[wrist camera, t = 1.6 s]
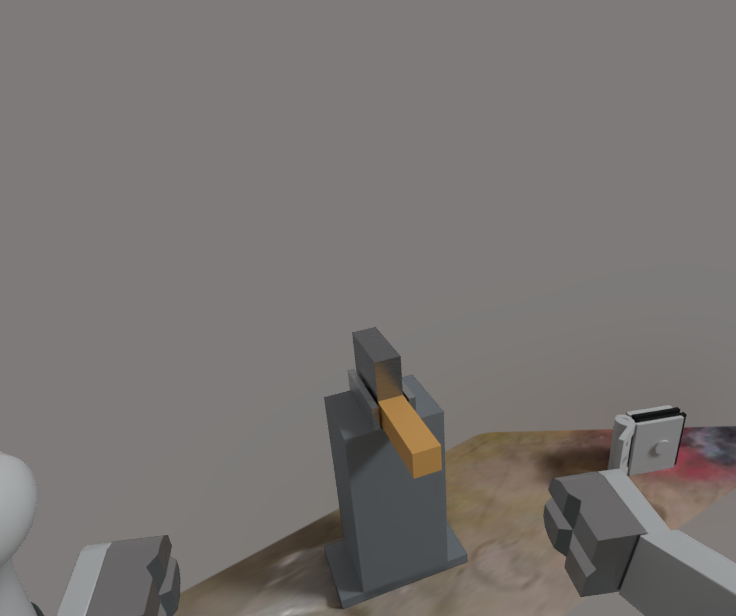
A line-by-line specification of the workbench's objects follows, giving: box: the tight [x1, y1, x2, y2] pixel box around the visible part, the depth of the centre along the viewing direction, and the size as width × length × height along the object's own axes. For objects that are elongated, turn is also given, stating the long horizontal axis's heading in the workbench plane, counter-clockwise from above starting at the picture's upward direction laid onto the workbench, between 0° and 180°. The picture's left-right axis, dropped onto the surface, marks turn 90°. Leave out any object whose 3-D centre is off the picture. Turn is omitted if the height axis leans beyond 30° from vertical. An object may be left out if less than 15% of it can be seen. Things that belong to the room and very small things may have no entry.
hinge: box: [608, 405, 686, 476], centre depth 81 cm, size 14×5×10 cm, turn 111°
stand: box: [324, 369, 467, 609], centre depth 65 cm, size 18×9×29 cm, turn 109°
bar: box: [352, 327, 442, 479], centre depth 55 cm, size 3×18×8 cm, turn 19°
